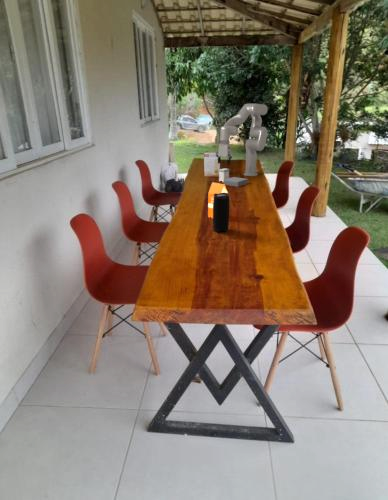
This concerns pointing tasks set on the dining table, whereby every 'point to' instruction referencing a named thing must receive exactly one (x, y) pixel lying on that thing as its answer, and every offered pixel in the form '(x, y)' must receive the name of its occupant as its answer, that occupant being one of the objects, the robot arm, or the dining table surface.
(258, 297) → the dining table surface
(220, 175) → the carton
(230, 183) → the podium
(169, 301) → the dining table surface
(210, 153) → the cracker box
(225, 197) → the portable speaker
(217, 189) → the orange juice
